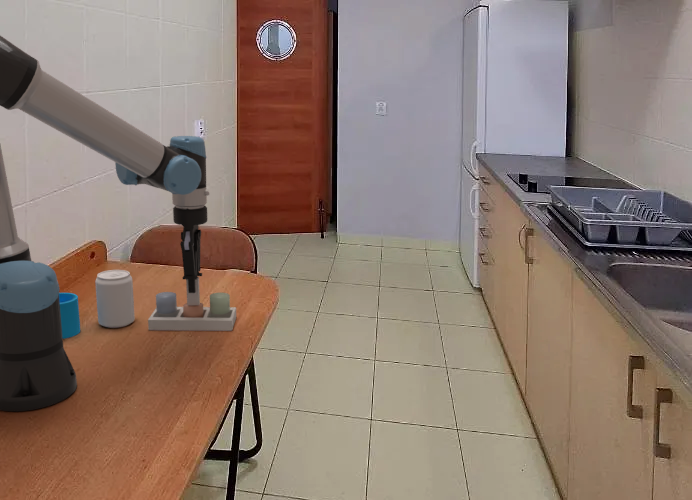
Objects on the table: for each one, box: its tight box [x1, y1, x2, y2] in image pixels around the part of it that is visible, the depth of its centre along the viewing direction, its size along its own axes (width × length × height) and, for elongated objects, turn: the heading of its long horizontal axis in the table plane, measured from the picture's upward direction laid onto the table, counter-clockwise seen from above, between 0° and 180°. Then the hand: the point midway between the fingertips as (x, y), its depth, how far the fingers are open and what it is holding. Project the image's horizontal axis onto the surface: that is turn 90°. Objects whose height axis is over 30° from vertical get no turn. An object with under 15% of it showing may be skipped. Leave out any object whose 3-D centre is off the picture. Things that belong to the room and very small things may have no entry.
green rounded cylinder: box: [209, 292, 231, 314], centre depth 154 cm, size 5×5×4 cm
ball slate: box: [155, 291, 178, 314], centre depth 154 cm, size 5×5×4 cm
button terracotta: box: [182, 302, 204, 318], centre depth 155 cm, size 5×5×4 cm
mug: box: [59, 292, 81, 340], centre depth 149 cm, size 12×8×8 cm
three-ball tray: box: [147, 306, 237, 332], centre depth 155 cm, size 9×19×2 cm, turn 93°
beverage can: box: [94, 269, 135, 329], centre depth 153 cm, size 8×8×12 cm
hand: (193, 304), depth 154 cm, fingers closed
